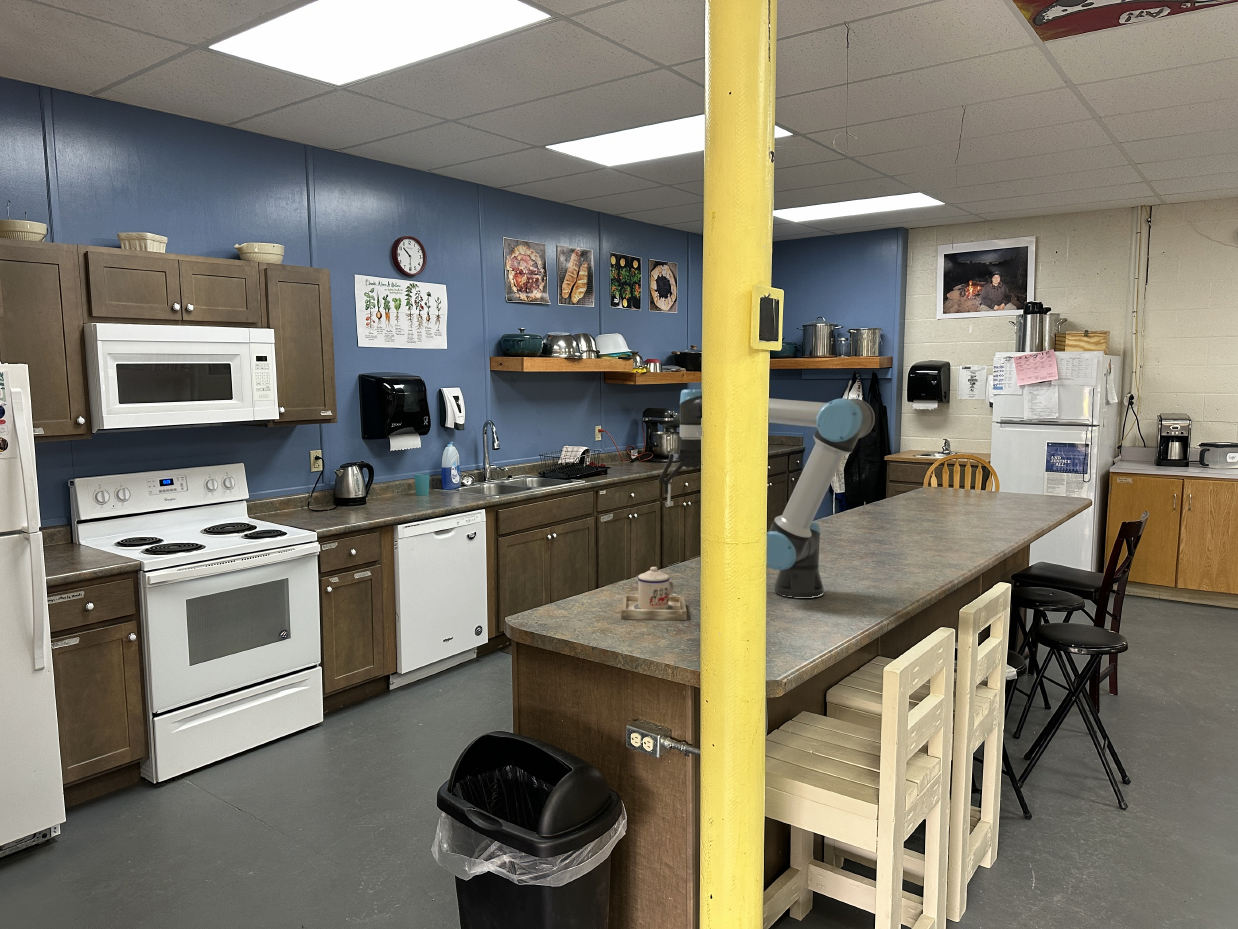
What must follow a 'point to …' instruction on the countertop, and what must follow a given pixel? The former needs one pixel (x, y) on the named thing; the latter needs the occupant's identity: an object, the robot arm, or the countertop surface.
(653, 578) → the teacup with lid
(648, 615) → the birch tray
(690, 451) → the robot arm
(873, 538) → the countertop surface
